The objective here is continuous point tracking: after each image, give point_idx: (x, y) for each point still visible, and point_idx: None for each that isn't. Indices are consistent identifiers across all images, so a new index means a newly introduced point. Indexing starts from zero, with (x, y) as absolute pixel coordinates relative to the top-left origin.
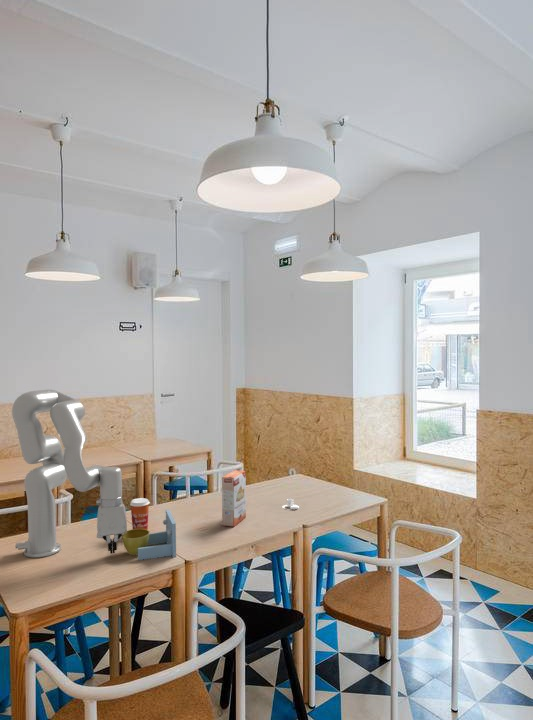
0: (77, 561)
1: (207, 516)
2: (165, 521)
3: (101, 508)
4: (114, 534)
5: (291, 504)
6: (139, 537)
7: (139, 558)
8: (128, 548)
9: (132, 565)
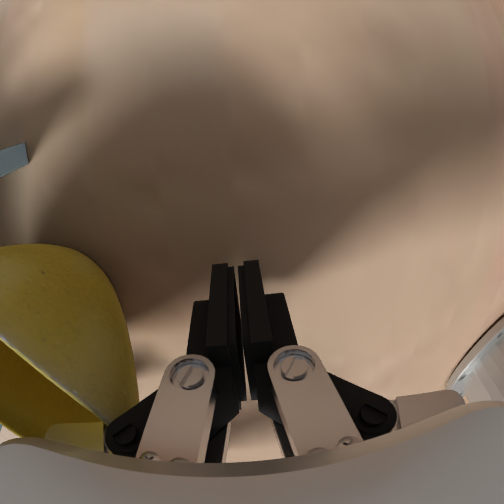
0: (460, 235)
1: None
2: None
3: None
4: (184, 467)
5: None
6: (57, 399)
7: (10, 147)
8: (64, 265)
9: (56, 44)
